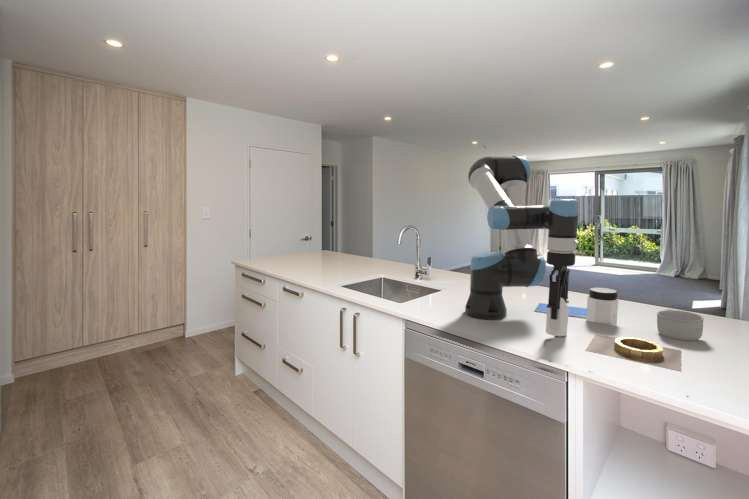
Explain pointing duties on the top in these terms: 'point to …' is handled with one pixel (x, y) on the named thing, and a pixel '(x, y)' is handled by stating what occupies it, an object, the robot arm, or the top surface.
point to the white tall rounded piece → (563, 320)
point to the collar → (652, 353)
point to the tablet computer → (572, 310)
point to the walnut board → (606, 347)
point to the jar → (602, 306)
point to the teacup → (680, 324)
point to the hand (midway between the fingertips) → (556, 325)
